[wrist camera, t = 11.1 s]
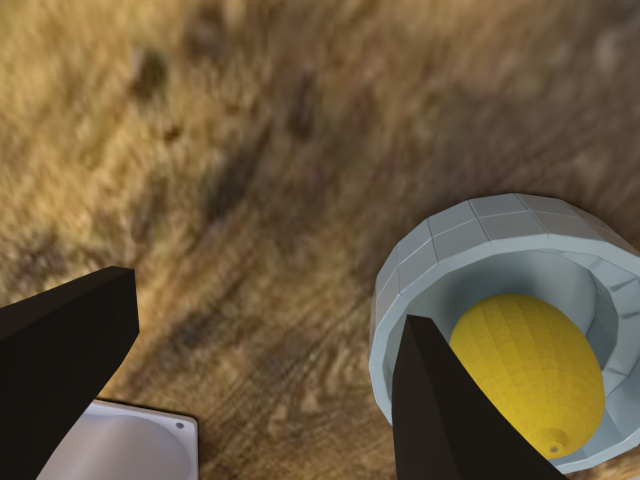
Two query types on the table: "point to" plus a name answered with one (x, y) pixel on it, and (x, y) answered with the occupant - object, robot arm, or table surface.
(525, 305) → the lemon
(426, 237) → the bowl
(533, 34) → the table surface
